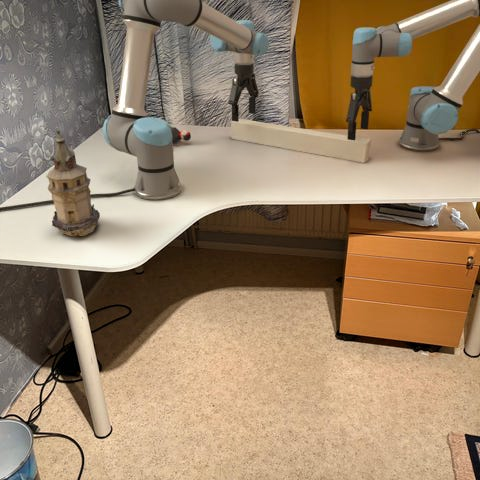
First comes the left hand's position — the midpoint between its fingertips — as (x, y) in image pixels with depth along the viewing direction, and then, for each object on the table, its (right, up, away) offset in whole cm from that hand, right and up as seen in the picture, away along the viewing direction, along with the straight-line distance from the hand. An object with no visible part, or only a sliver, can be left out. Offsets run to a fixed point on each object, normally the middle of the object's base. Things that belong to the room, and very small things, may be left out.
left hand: (243, 117), depth 219 cm
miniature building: (-49, -47, -63) cm, 92 cm away
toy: (-36, -10, +2) cm, 38 cm away
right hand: (+42, -11, -21) cm, 48 cm away
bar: (+21, -14, -6) cm, 26 cm away
